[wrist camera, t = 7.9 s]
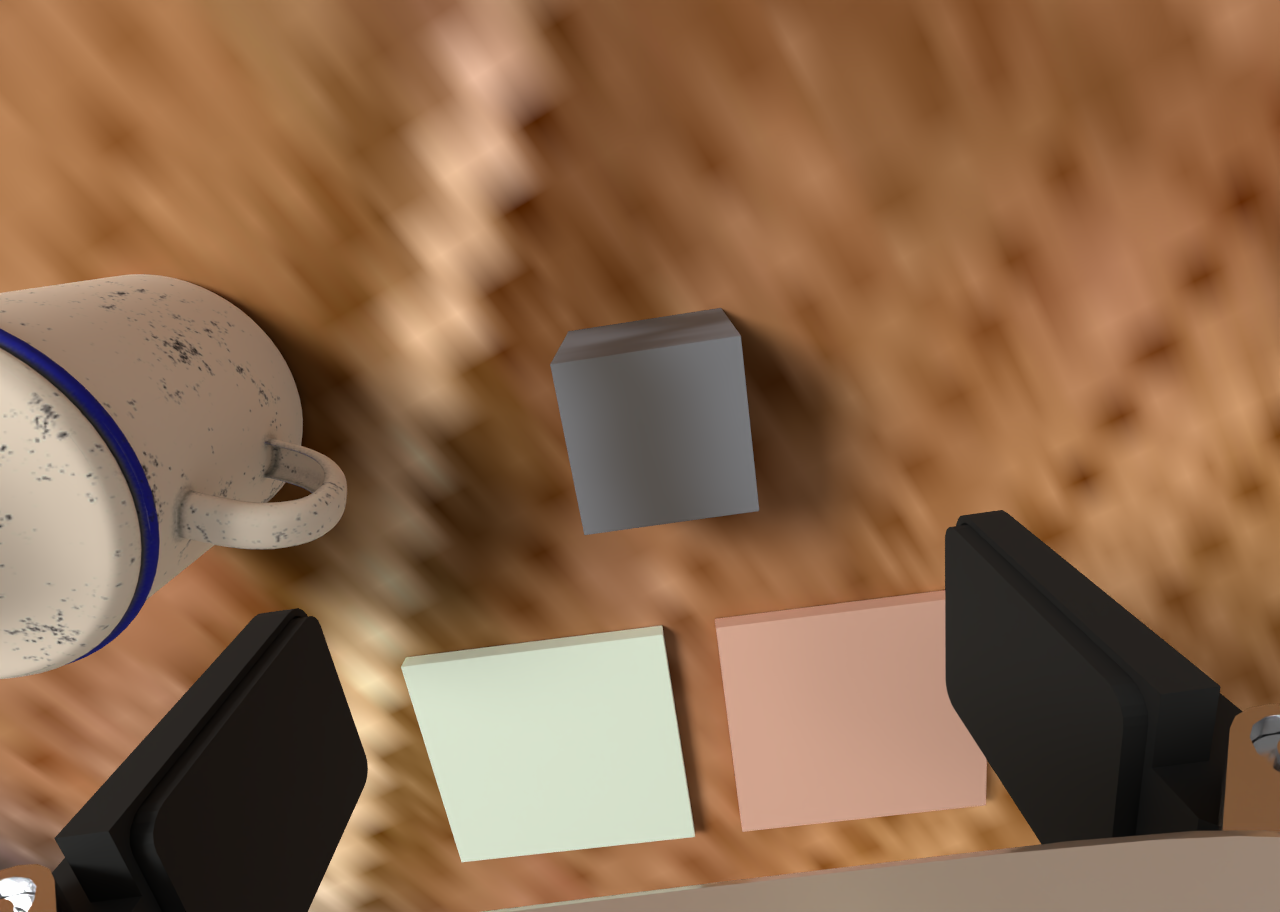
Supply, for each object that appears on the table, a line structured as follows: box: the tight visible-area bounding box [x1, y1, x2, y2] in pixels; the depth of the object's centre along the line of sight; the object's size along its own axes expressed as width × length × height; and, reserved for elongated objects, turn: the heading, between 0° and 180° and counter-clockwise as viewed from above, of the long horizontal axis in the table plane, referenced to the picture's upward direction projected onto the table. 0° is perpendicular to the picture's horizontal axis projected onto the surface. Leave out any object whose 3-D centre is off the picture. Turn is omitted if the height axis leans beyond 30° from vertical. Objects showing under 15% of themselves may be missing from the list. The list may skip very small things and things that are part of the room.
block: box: [550, 308, 759, 535], centre depth 22 cm, size 5×5×5 cm
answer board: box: [401, 590, 987, 862], centre depth 28 cm, size 22×10×1 cm, turn 98°
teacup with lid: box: [0, 274, 347, 679], centre depth 19 cm, size 12×9×12 cm
